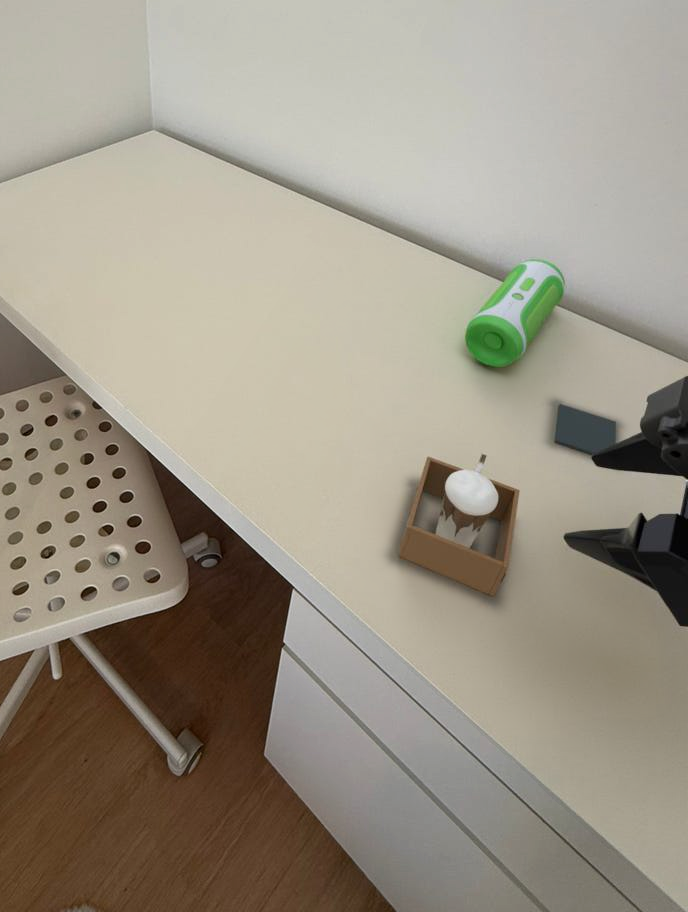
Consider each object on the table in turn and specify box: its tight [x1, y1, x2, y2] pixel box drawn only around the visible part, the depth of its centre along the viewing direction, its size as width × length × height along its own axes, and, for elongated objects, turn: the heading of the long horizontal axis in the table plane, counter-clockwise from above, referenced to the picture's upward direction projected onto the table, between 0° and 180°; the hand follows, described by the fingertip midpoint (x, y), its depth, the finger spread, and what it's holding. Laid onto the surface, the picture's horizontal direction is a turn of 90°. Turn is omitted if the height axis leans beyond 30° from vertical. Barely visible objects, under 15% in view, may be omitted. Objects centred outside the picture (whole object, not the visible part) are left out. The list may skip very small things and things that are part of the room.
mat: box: [554, 403, 617, 456], centre depth 76 cm, size 6×6×1 cm
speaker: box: [464, 258, 566, 368], centre depth 87 cm, size 18×7×8 cm, turn 139°
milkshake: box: [434, 453, 498, 549], centre depth 63 cm, size 4×5×10 cm
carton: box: [397, 456, 521, 597], centre depth 64 cm, size 9×9×5 cm
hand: (580, 498), depth 54 cm, fingers open, 9 cm apart
